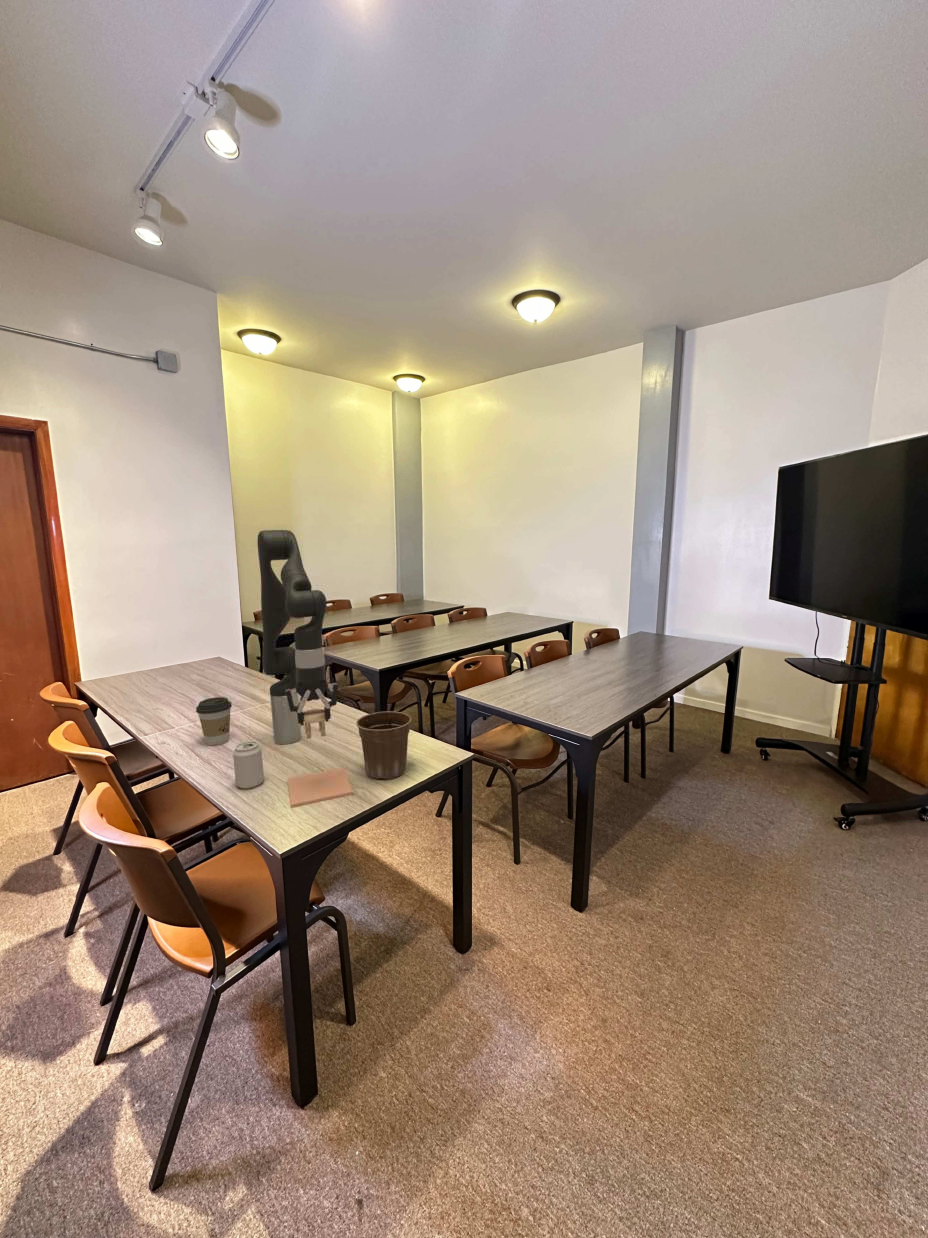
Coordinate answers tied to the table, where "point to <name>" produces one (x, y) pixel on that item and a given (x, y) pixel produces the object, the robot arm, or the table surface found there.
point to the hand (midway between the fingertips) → (314, 722)
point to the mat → (318, 787)
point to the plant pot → (384, 743)
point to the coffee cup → (215, 720)
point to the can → (248, 764)
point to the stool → (314, 720)
